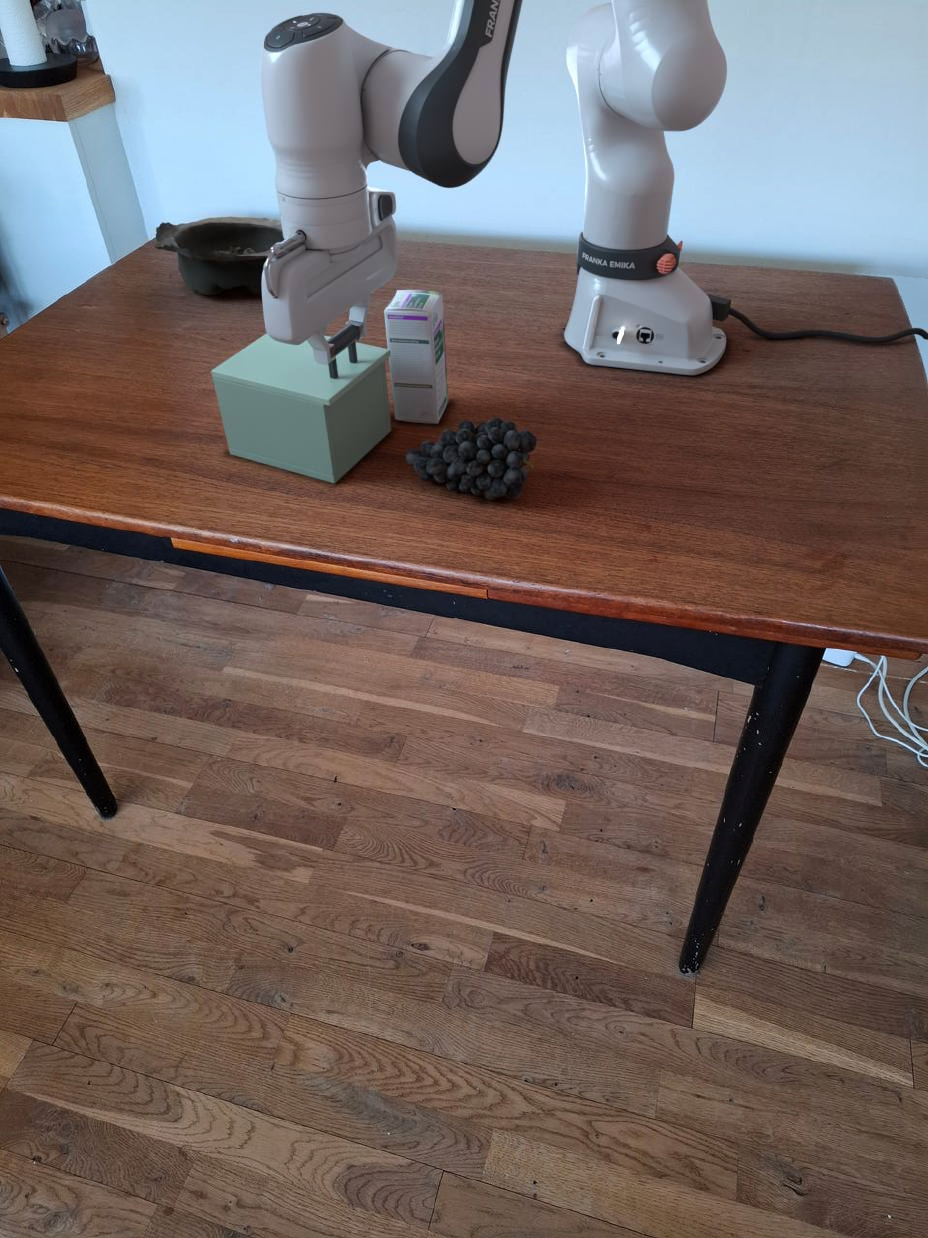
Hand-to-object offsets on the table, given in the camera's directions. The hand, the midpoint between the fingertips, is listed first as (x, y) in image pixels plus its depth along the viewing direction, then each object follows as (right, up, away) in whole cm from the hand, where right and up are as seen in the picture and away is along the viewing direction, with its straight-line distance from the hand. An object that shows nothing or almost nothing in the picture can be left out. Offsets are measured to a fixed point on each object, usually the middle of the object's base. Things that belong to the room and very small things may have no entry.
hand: (341, 349), depth 96 cm
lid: (-5, -1, +4) cm, 6 cm away
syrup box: (+8, -3, +16) cm, 18 cm away
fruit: (+14, -14, +4) cm, 20 cm away
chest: (-5, -8, +11) cm, 14 cm away
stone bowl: (-22, +26, +49) cm, 60 cm away
